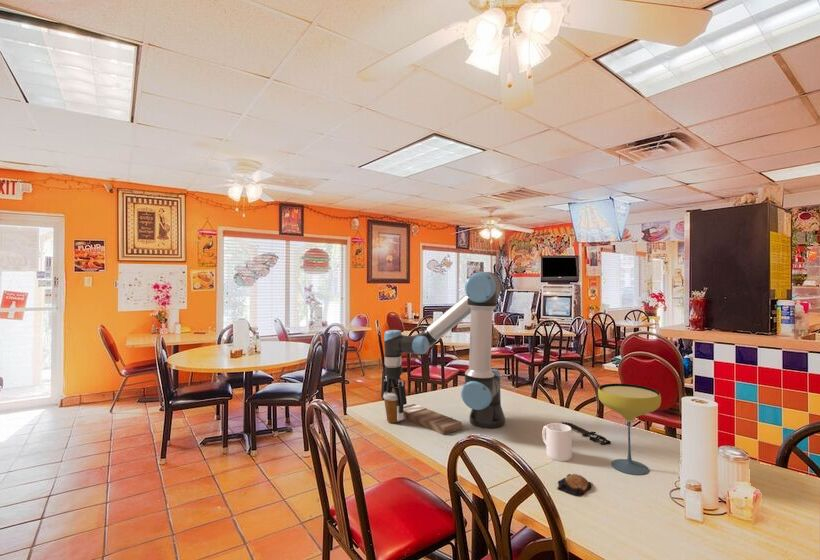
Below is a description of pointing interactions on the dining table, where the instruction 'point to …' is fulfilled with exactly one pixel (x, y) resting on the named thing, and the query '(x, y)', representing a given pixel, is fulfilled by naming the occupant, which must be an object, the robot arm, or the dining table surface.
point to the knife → (586, 434)
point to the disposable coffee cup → (391, 406)
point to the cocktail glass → (629, 414)
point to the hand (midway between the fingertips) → (394, 417)
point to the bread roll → (574, 485)
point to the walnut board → (431, 419)
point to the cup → (558, 441)
